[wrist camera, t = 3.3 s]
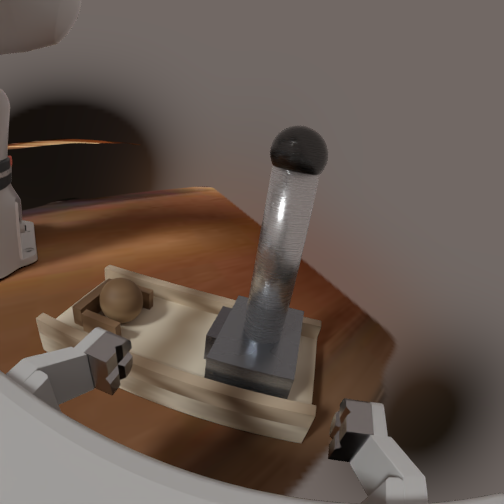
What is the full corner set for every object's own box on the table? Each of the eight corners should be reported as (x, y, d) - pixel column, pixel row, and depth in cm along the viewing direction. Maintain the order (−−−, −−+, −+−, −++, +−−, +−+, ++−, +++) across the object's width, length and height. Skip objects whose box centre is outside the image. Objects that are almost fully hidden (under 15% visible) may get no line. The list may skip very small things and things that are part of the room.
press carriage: (296, 335, 29) (345, 137, 22) (284, 406, 21) (361, 136, 14) (226, 318, 30) (258, 119, 23) (193, 381, 22) (224, 110, 15)
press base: (311, 348, 31) (322, 318, 29) (301, 443, 20) (316, 413, 18) (111, 292, 34) (109, 262, 32) (43, 349, 23) (35, 315, 21)
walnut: (99, 308, 28) (96, 271, 26) (139, 304, 29) (138, 268, 28) (103, 334, 24) (99, 294, 23) (147, 329, 26) (147, 290, 25)
